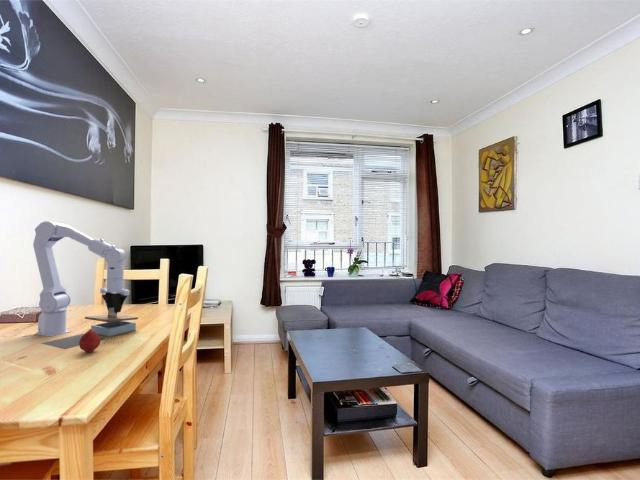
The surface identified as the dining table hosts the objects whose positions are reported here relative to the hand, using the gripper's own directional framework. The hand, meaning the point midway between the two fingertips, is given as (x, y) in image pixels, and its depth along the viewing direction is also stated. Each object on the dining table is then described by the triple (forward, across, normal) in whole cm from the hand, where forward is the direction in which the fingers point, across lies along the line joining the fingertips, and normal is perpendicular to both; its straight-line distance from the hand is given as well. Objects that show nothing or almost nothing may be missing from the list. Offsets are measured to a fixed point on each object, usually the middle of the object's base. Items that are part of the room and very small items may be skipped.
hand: (114, 311), depth 135 cm
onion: (+9, +16, -20) cm, 27 cm away
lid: (+3, 0, -1) cm, 3 cm away
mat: (+8, -1, -14) cm, 17 cm away
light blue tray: (+8, 0, 0) cm, 8 cm away
